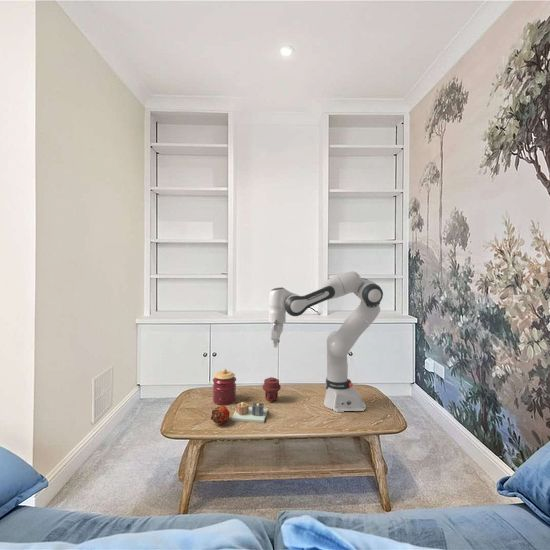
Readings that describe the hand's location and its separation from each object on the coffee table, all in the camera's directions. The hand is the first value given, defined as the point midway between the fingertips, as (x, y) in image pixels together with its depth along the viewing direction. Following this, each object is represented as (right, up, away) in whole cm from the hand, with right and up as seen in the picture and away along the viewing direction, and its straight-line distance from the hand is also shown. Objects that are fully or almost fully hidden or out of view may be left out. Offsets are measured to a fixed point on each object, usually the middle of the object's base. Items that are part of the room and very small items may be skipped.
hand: (276, 344), depth 170 cm
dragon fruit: (-27, -35, -13) cm, 46 cm away
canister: (-29, -34, +11) cm, 46 cm away
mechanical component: (-3, -34, +12) cm, 36 cm away
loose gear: (-9, -33, -7) cm, 35 cm away
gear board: (-13, -34, -6) cm, 37 cm away
